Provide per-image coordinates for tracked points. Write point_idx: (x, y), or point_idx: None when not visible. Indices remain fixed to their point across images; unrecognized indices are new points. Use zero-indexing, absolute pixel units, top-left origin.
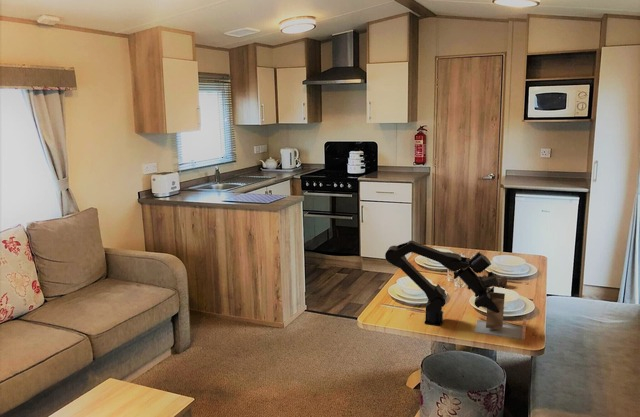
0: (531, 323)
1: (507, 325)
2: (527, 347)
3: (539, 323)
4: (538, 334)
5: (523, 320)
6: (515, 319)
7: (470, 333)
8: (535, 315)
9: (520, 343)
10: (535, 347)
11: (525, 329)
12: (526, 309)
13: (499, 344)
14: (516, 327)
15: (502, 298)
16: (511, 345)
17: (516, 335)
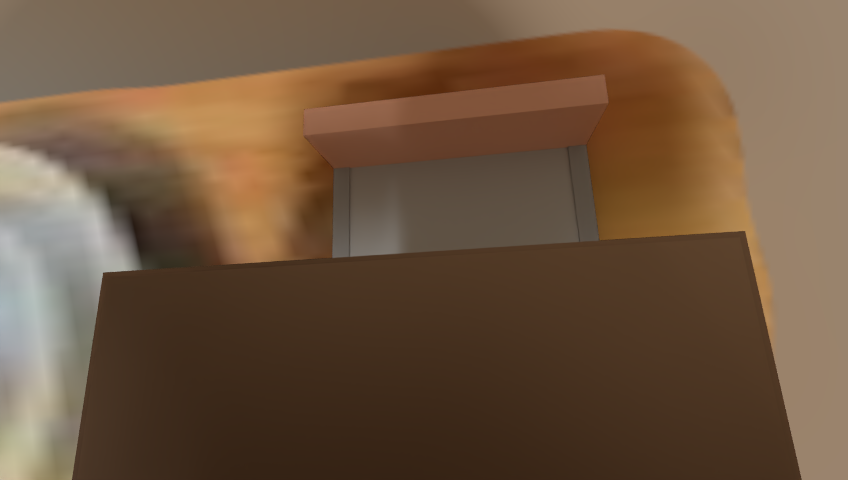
0: (241, 126)
1: None
2: (693, 95)
3: (226, 79)
4: (416, 60)
5: (349, 127)
6: (199, 241)
7: None
8: (98, 120)
9: (645, 150)
10: (659, 46)
11: (559, 82)
12: (6, 188)
13: (768, 309)
14: (366, 211)
15: (698, 299)
16: (727, 210)
17: (526, 192)
